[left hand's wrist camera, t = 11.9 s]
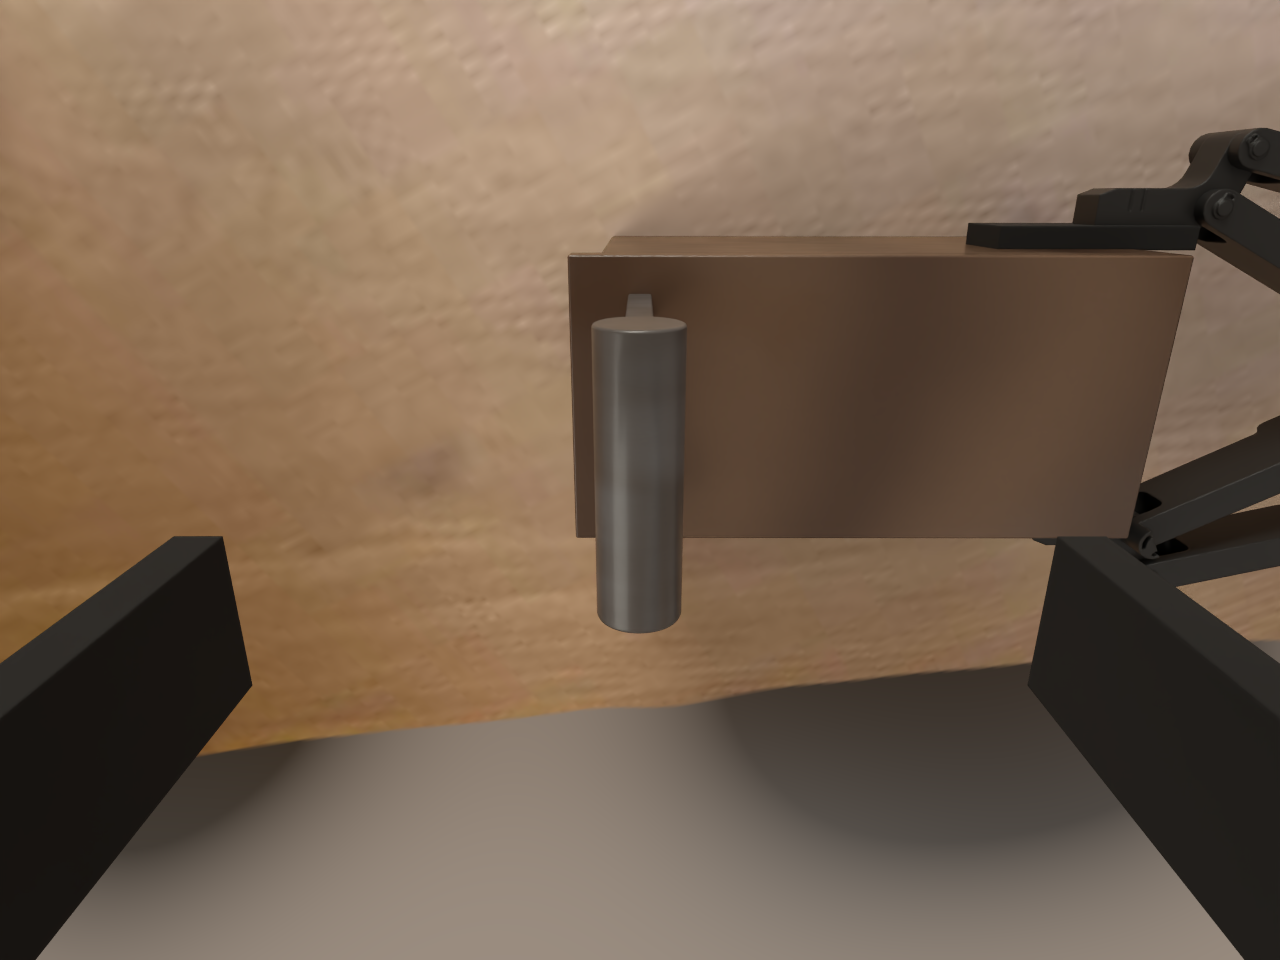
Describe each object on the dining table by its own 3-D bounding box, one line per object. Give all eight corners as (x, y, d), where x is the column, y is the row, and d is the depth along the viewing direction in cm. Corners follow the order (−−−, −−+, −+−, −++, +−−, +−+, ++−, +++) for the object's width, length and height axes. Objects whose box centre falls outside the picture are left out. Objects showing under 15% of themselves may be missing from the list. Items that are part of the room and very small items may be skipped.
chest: (614, 440, 37) (605, 525, 27) (612, 236, 33) (601, 252, 24) (988, 440, 37) (1109, 526, 27) (1021, 236, 33) (1171, 253, 24)
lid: (578, 525, 27) (551, 669, 19) (570, 252, 24) (533, 283, 16) (1110, 526, 27) (1314, 670, 19) (1172, 253, 24) (1448, 283, 16)
